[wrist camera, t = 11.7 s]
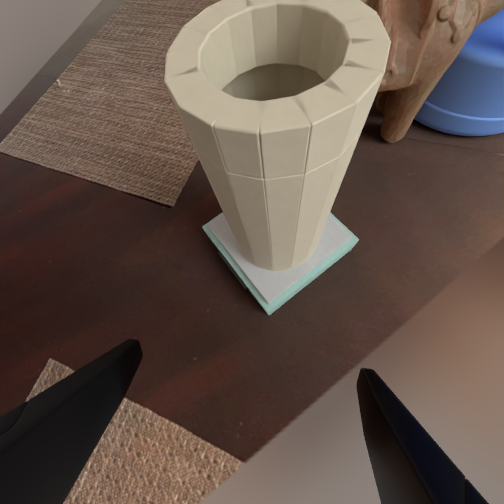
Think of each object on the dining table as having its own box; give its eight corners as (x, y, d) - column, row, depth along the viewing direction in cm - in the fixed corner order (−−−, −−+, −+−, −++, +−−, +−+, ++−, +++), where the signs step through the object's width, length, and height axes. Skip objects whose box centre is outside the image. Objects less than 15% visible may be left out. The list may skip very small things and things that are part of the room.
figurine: (265, 116, 29) (251, -86, 15) (415, 101, 28) (554, -144, 14) (267, 164, 27) (252, -25, 13) (432, 150, 25) (625, -88, 11)
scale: (266, 317, 21) (264, 314, 18) (206, 238, 24) (197, 225, 22) (351, 249, 22) (361, 236, 20) (283, 183, 26) (284, 164, 23)
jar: (325, 266, 19) (423, 107, 6) (239, 275, 20) (157, 148, 6) (310, 192, 21) (357, -34, 8) (235, 202, 22) (169, 5, 9)
